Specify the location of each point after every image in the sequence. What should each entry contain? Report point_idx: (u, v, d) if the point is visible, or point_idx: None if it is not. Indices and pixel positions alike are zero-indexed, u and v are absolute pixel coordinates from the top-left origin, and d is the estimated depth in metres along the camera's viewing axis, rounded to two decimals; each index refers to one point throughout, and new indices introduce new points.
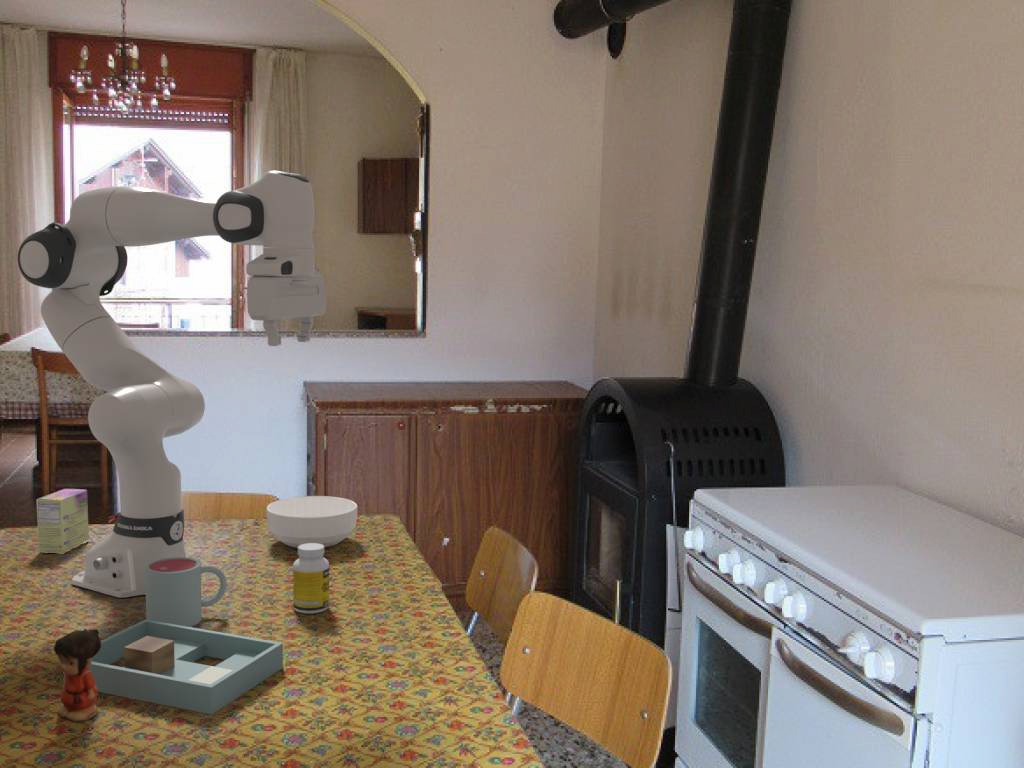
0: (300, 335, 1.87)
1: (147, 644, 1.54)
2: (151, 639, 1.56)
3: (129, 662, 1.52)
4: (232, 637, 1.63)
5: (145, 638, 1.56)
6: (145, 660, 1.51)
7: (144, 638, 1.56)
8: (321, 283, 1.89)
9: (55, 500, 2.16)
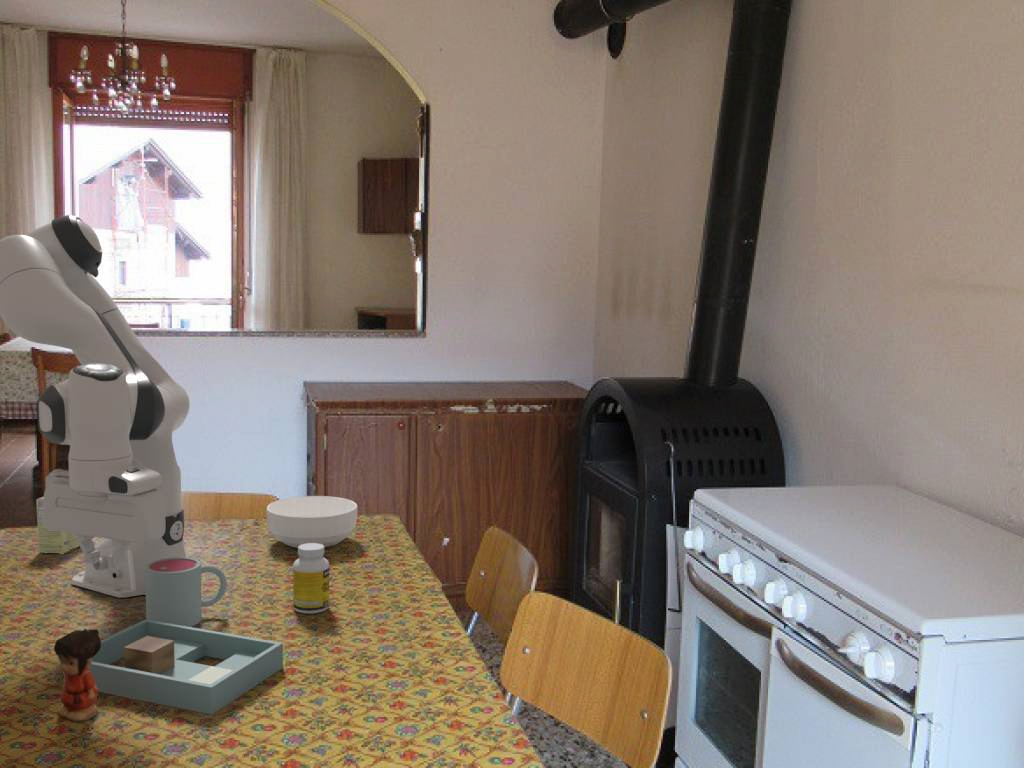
0: (94, 556, 1.56)
1: (147, 644, 1.54)
2: (151, 639, 1.56)
3: (129, 662, 1.52)
4: (232, 637, 1.63)
5: (145, 638, 1.56)
6: (145, 660, 1.51)
7: (144, 638, 1.56)
8: None
9: None
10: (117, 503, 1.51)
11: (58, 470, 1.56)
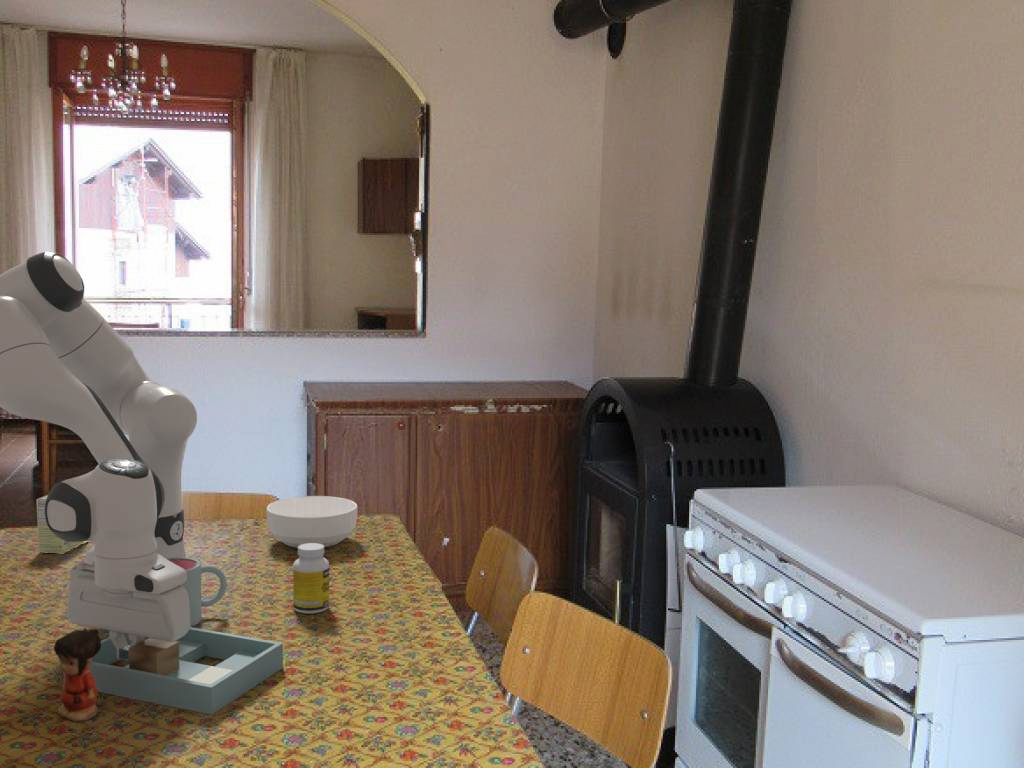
0: None
1: (152, 645, 1.54)
2: (155, 640, 1.55)
3: (134, 663, 1.52)
4: (232, 637, 1.63)
5: (150, 639, 1.56)
6: (150, 661, 1.51)
7: (149, 639, 1.56)
8: None
9: None
10: (142, 600, 1.51)
11: (83, 564, 1.56)
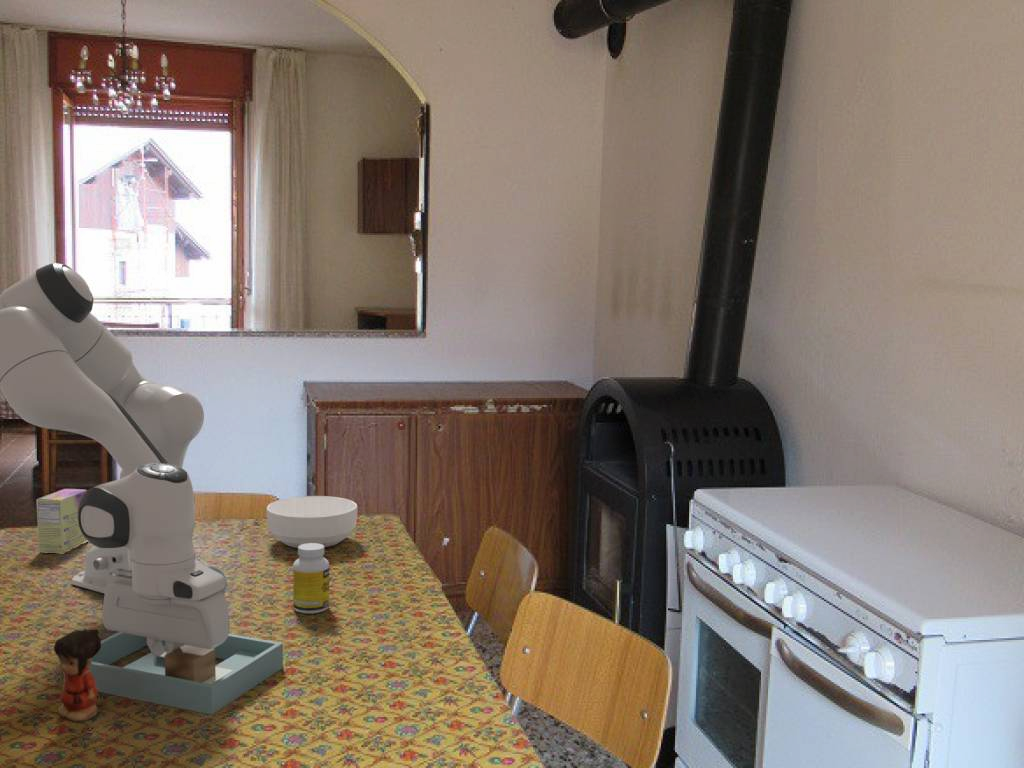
0: None
1: (188, 652, 1.51)
2: (191, 647, 1.53)
3: (170, 671, 1.50)
4: (232, 637, 1.63)
5: (185, 646, 1.53)
6: (187, 668, 1.49)
7: (185, 646, 1.53)
8: None
9: (55, 500, 2.16)
10: (181, 607, 1.48)
11: (119, 569, 1.54)
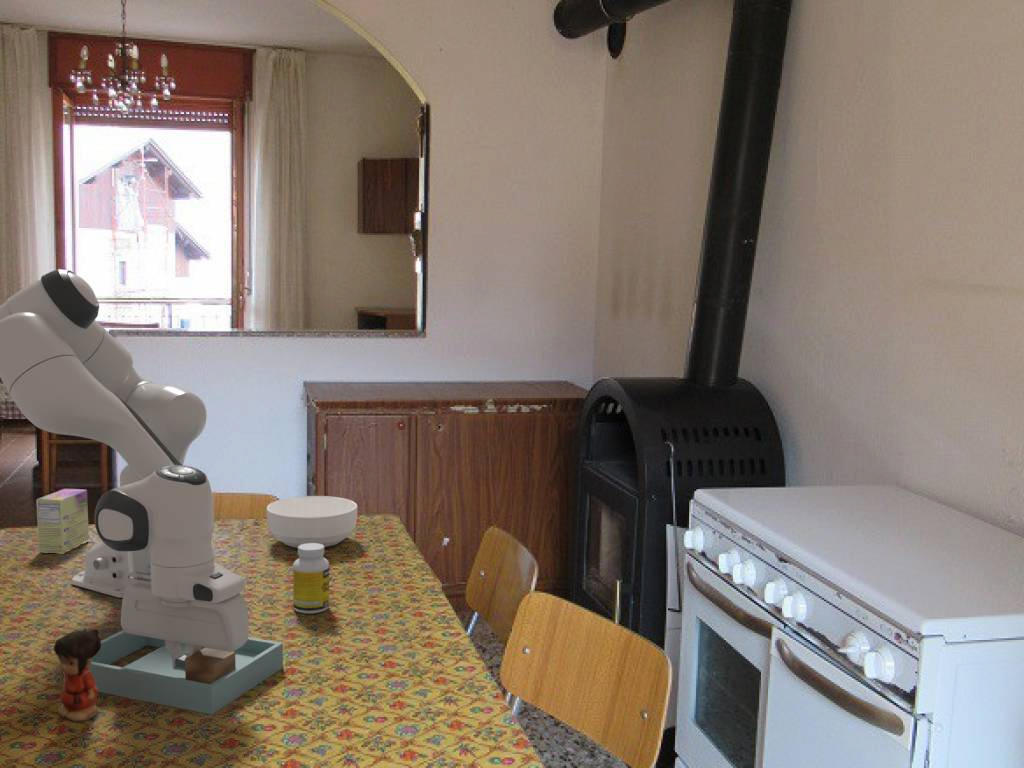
0: None
1: (208, 655, 1.50)
2: (211, 650, 1.52)
3: (191, 674, 1.49)
4: None
5: (205, 649, 1.52)
6: (208, 672, 1.48)
7: (205, 649, 1.52)
8: None
9: (55, 500, 2.16)
10: (200, 610, 1.48)
11: (137, 572, 1.53)
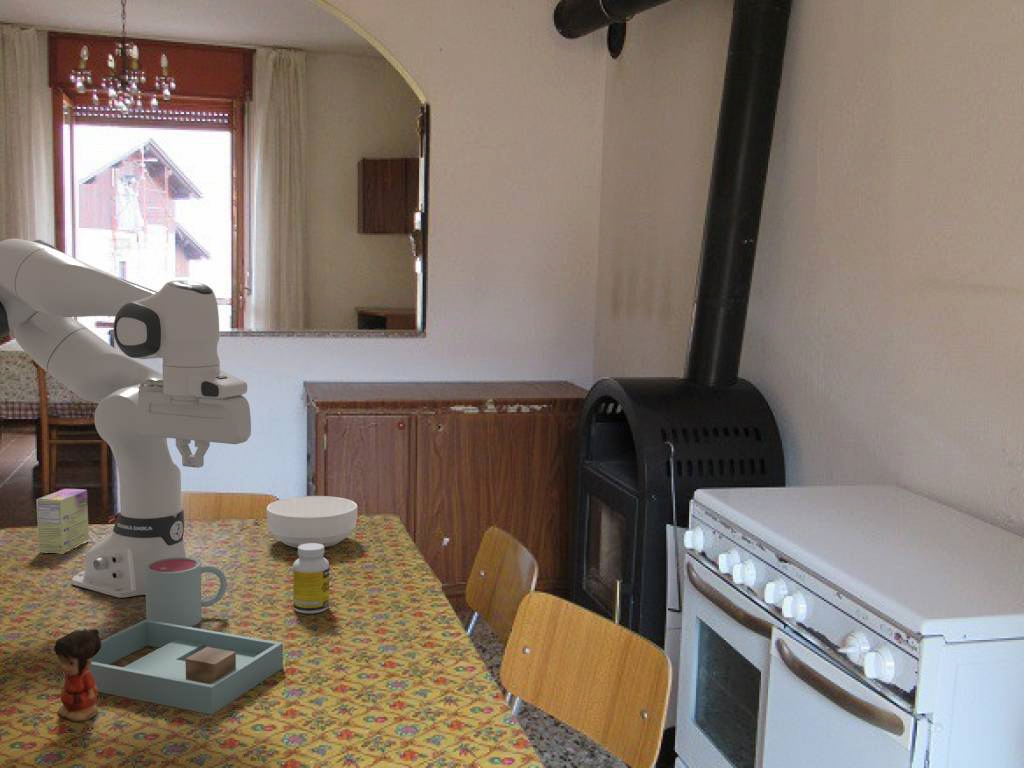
0: None
1: (208, 655, 1.50)
2: (212, 650, 1.52)
3: (191, 674, 1.49)
4: (232, 637, 1.63)
5: (206, 649, 1.52)
6: (208, 672, 1.48)
7: (205, 649, 1.52)
8: None
9: (55, 500, 2.16)
10: (208, 407, 1.65)
11: (150, 380, 1.70)
